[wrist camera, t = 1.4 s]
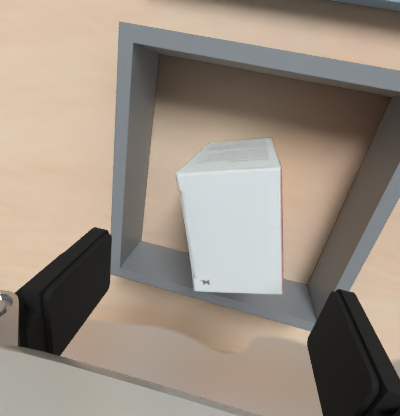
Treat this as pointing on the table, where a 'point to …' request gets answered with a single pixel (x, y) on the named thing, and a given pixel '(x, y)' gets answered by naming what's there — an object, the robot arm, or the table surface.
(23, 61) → the table surface
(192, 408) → the robot arm
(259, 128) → the table surface
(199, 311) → the table surface
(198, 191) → the small box
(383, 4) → the board
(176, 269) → the rectangular frame
